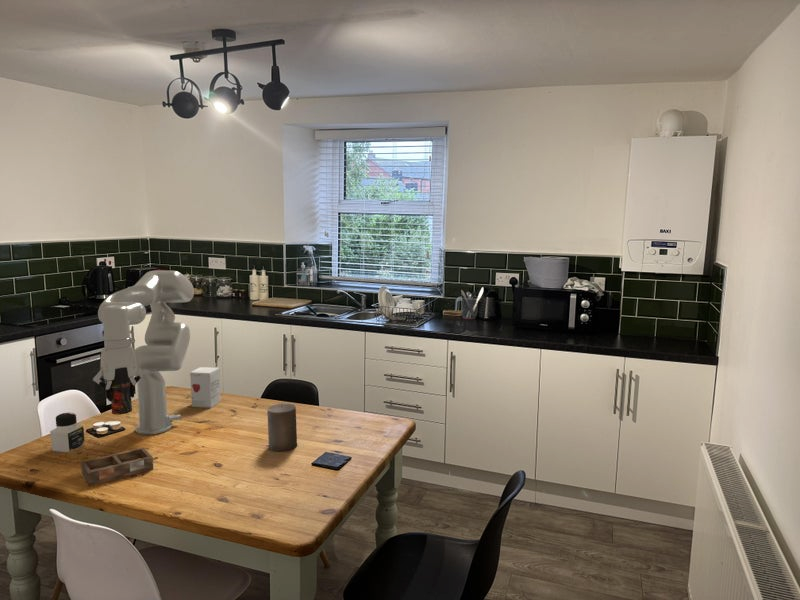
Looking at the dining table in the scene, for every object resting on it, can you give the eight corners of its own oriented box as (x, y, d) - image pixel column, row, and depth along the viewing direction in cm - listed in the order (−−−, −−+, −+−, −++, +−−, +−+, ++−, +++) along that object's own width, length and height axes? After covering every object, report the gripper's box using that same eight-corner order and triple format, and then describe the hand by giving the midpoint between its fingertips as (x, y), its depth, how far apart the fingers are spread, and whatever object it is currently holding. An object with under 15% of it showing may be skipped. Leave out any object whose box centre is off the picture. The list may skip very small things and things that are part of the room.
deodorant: (136, 410, 189) (133, 365, 187) (120, 415, 184) (117, 369, 182) (123, 407, 192) (120, 363, 190) (107, 413, 186) (104, 367, 184)
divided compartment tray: (143, 459, 187) (143, 447, 187) (153, 469, 179) (152, 457, 179) (81, 474, 176) (80, 462, 175) (89, 486, 168) (88, 473, 167)
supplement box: (190, 407, 239) (189, 372, 237) (201, 400, 248) (200, 366, 246) (211, 408, 237) (209, 372, 235) (221, 401, 246) (219, 367, 244)
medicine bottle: (69, 453, 192) (66, 418, 190) (51, 451, 193) (48, 416, 192) (85, 444, 199) (82, 411, 197) (67, 443, 200) (64, 410, 199)
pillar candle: (303, 445, 198) (301, 403, 196) (279, 454, 191) (277, 410, 189) (286, 438, 205) (284, 397, 203) (262, 446, 198) (261, 404, 196)
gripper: (142, 338, 193) (145, 391, 195) (85, 345, 182) (88, 401, 185) (149, 342, 187) (152, 396, 190) (90, 349, 176) (94, 406, 179)
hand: (121, 398), depth 187 cm, fingers closed on deodorant, 5 cm apart
